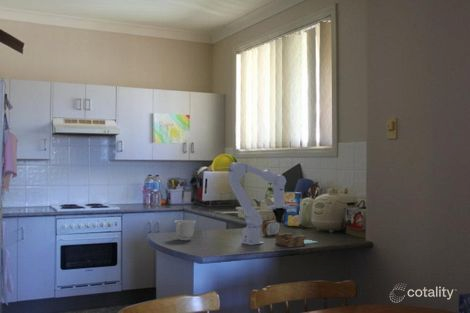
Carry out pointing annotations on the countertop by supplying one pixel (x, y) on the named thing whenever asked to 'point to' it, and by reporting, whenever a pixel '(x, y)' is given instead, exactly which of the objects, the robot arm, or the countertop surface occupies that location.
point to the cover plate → (309, 242)
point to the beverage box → (292, 208)
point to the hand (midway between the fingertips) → (278, 222)
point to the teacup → (184, 228)
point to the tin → (271, 228)
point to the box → (289, 240)
